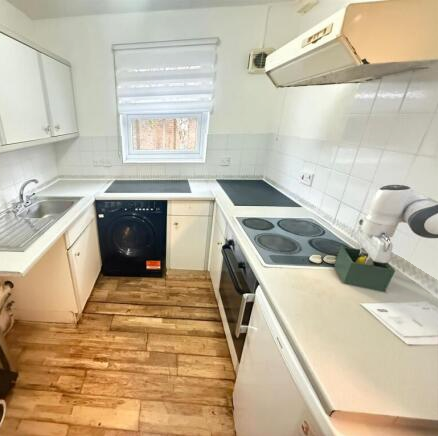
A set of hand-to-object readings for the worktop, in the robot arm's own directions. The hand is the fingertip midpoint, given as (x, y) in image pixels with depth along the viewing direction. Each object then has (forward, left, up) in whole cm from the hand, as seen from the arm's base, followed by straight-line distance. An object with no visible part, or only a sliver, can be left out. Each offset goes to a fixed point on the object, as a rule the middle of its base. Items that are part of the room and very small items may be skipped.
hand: (364, 260), depth 93 cm
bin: (0, 0, -8) cm, 9 cm away
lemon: (-1, 0, -7) cm, 7 cm away
